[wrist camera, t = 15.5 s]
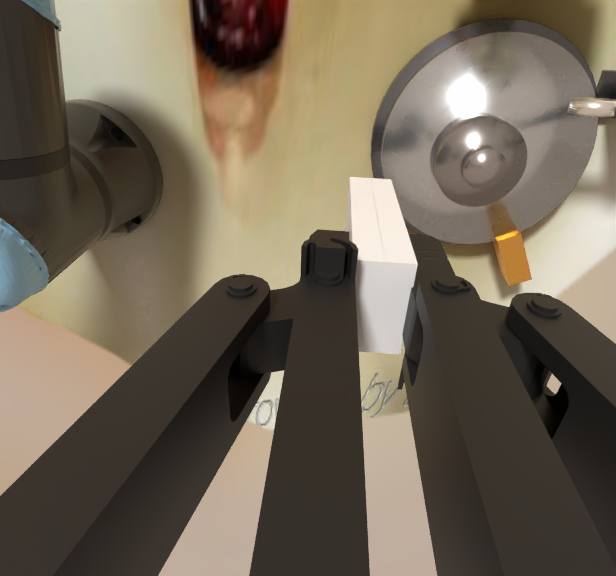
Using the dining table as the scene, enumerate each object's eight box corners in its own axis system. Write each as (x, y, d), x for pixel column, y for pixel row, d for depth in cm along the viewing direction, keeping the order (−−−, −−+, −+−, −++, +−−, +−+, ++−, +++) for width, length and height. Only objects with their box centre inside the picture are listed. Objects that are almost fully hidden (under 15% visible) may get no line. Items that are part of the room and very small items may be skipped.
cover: (442, 206, 44) (452, 225, 40) (419, 134, 41) (427, 146, 37) (521, 176, 42) (541, 192, 38) (504, 97, 39) (523, 105, 34)
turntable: (428, 296, 53) (432, 310, 50) (351, 93, 41) (351, 97, 39) (605, 239, 47) (619, 251, 44) (571, -14, 36) (588, -18, 33)
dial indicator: (523, 114, 42) (571, 136, 33) (535, 69, 40) (590, 80, 31) (630, 116, 41) (708, 140, 32) (647, 70, 39) (736, 82, 30)
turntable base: (363, 236, 50) (363, 241, 49) (381, 18, 39) (382, 17, 38) (553, 244, 49) (558, 249, 48) (631, 19, 37) (639, 19, 36)
